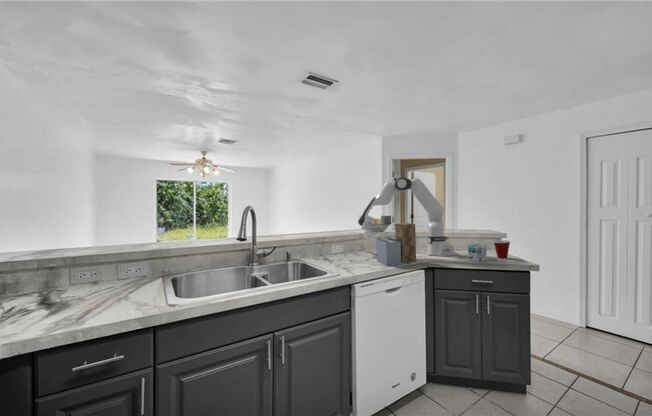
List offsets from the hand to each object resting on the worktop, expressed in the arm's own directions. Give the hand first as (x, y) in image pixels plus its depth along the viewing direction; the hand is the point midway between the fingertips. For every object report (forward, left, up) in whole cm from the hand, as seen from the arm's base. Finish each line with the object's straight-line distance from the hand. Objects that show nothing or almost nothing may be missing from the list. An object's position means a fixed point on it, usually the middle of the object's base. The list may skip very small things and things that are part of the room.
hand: (378, 220), depth 211 cm
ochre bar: (0, +7, -2) cm, 8 cm away
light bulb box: (-59, +29, -29) cm, 72 cm away
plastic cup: (-80, +27, -29) cm, 89 cm away
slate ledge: (0, +16, -28) cm, 33 cm away
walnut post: (-13, +16, -28) cm, 35 cm away
